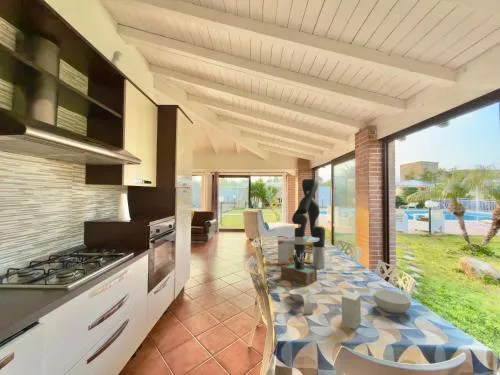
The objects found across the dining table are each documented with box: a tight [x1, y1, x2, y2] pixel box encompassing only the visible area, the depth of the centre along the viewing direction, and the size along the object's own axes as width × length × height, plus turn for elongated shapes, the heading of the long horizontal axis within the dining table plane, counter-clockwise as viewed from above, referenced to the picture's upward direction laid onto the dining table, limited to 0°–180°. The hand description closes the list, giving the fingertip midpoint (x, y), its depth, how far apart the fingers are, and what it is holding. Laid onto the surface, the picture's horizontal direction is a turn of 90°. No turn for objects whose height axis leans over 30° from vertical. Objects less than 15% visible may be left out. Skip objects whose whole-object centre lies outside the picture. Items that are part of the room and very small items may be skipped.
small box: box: [341, 290, 362, 330], centre depth 110 cm, size 8×6×13 cm
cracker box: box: [277, 238, 295, 266], centre depth 204 cm, size 14×6×21 cm, turn 84°
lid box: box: [280, 262, 318, 287], centre depth 166 cm, size 14×20×8 cm
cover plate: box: [287, 261, 315, 275], centre depth 166 cm, size 10×18×6 cm, turn 45°
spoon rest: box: [288, 289, 314, 315], centre depth 130 cm, size 24×12×7 cm, turn 4°
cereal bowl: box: [373, 289, 412, 314], centre depth 124 cm, size 17×17×7 cm
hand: (299, 267), depth 166 cm, fingers closed on cover plate, 3 cm apart
